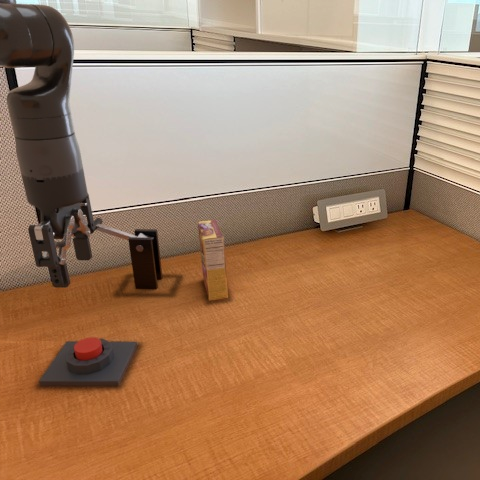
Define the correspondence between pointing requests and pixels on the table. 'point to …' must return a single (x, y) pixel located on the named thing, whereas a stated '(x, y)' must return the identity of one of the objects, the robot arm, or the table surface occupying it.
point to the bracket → (145, 259)
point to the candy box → (213, 259)
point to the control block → (90, 366)
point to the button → (88, 349)
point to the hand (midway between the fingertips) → (73, 272)
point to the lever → (113, 230)
